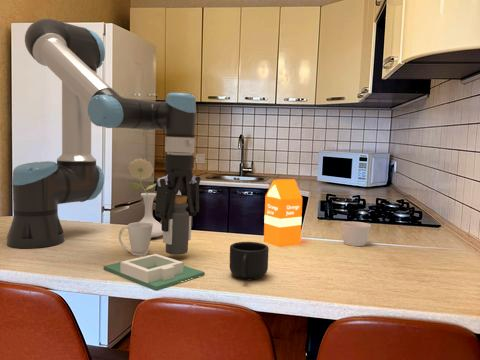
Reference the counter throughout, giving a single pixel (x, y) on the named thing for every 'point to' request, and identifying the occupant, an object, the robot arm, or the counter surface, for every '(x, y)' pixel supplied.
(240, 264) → the mug
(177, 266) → the board
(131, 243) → the cup
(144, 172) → the flower in vase
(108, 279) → the counter surface
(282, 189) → the orange juice
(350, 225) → the candle
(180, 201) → the bottle
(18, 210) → the robot arm
